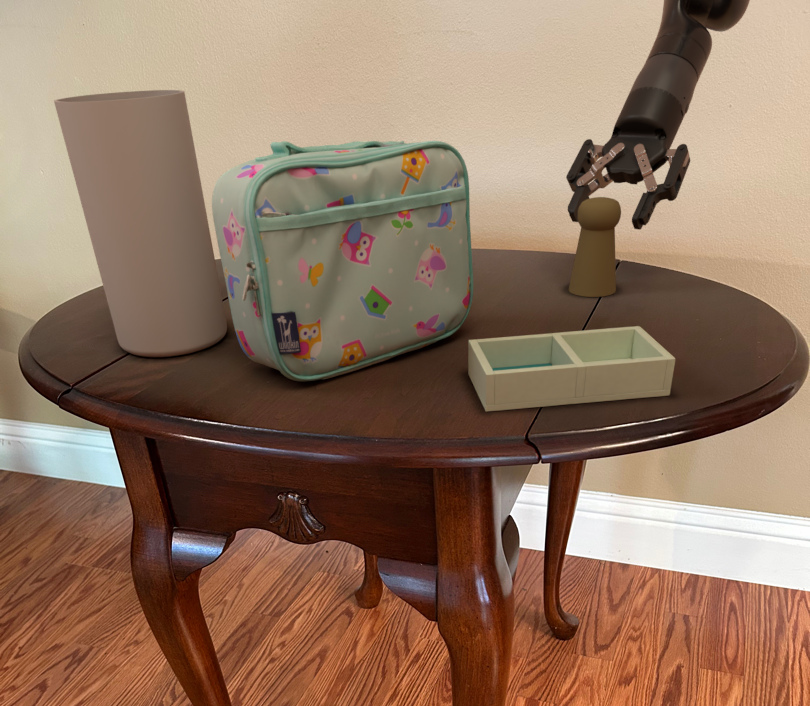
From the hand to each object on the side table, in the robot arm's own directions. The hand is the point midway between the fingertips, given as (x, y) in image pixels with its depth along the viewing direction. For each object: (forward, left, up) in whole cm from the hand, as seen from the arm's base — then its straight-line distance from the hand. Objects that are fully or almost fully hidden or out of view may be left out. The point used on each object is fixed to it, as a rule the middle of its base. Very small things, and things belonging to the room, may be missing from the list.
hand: (603, 221), depth 95 cm
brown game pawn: (+1, +1, -8) cm, 8 cm away
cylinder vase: (+50, +21, -8) cm, 55 cm away
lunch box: (+27, +25, -8) cm, 38 cm away
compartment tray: (+5, +32, -8) cm, 34 cm away
